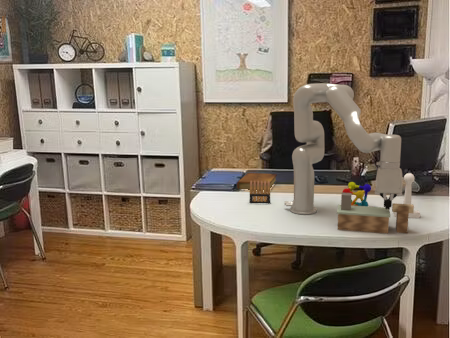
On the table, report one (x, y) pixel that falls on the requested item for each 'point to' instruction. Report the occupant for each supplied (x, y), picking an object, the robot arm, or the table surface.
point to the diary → (256, 180)
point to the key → (395, 206)
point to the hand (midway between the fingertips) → (387, 208)
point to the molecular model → (358, 193)
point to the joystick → (409, 195)
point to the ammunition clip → (259, 193)
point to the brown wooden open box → (373, 222)
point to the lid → (359, 208)
